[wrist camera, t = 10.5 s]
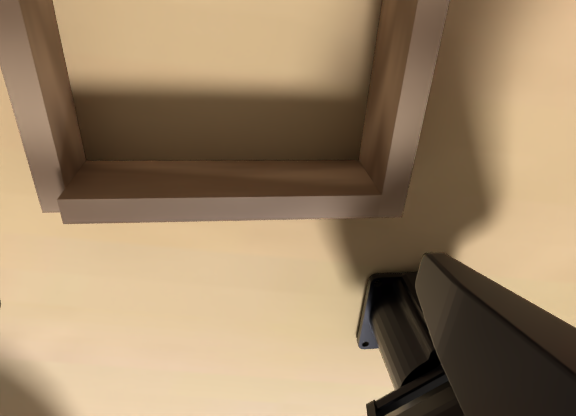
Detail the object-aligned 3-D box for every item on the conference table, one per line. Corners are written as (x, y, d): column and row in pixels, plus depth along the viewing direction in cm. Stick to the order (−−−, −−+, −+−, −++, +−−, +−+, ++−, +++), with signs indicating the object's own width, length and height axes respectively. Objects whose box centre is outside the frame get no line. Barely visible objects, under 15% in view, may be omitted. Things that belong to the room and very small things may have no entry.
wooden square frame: (376, 180, 23) (402, 217, 20) (65, 182, 21) (33, 224, 18) (448, -230, 15) (513, -288, 11) (-51, -292, 13) (-155, -387, 9)
